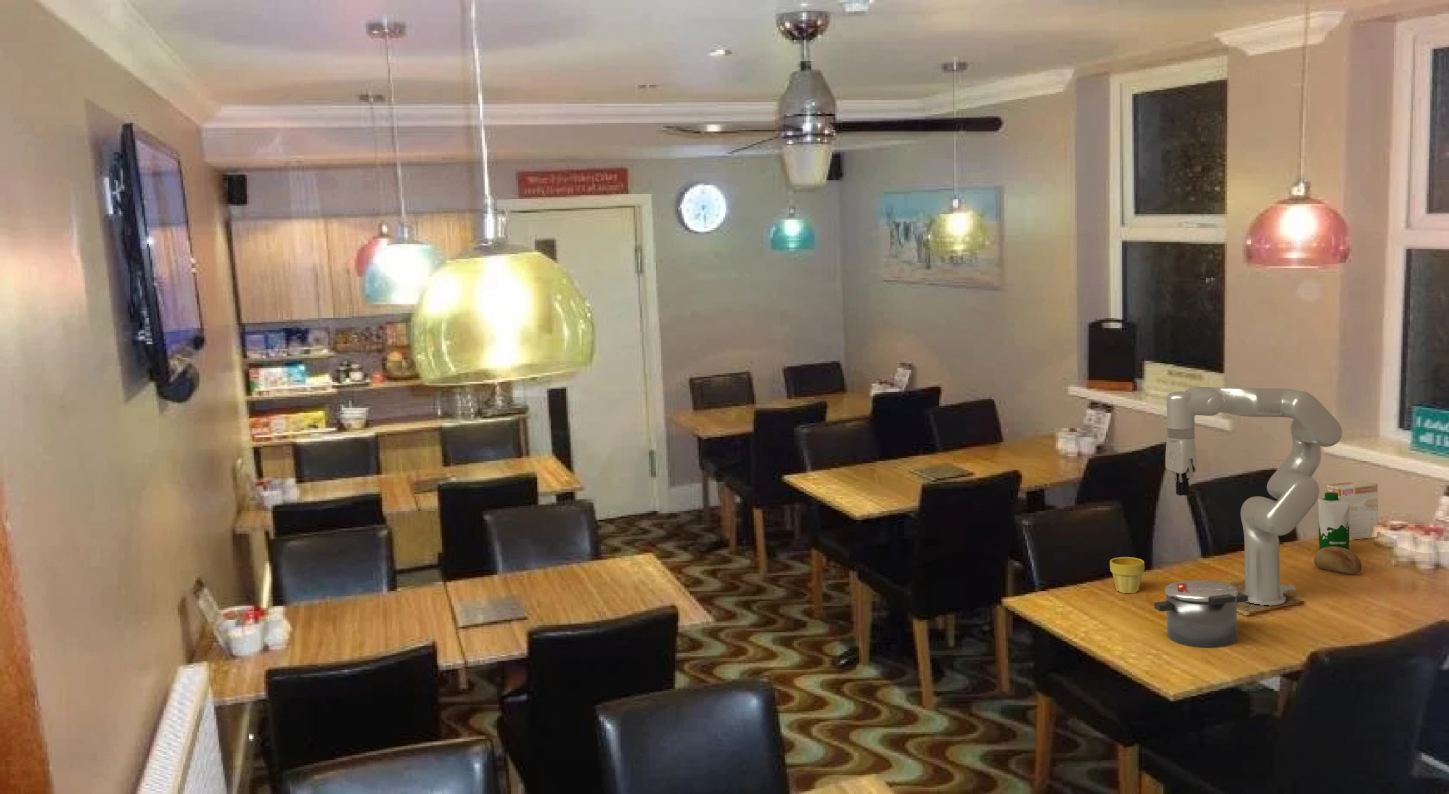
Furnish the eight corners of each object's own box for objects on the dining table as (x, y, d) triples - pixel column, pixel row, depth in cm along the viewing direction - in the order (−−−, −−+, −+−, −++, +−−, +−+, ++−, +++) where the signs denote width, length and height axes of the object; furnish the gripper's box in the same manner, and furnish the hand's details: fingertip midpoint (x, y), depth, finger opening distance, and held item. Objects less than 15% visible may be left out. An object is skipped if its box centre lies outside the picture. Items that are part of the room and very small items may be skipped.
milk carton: (1343, 548, 389) (1342, 491, 386) (1353, 555, 380) (1352, 497, 377) (1315, 549, 390) (1315, 492, 388) (1325, 556, 381) (1324, 498, 379)
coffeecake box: (1365, 533, 405) (1364, 479, 403) (1378, 537, 398) (1378, 483, 396) (1326, 537, 404) (1325, 483, 401) (1339, 542, 397) (1339, 487, 394)
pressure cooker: (1224, 620, 328) (1224, 580, 326) (1264, 641, 309) (1263, 599, 307) (1140, 630, 324) (1138, 589, 323) (1174, 652, 306) (1173, 609, 304)
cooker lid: (1212, 581, 325) (1212, 571, 325) (1257, 599, 304) (1256, 588, 304) (1151, 588, 323) (1151, 577, 323) (1192, 607, 302) (1191, 595, 301)
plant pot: (1140, 585, 365) (1139, 556, 364) (1149, 595, 355) (1148, 564, 354) (1107, 586, 366) (1106, 557, 365) (1115, 596, 356) (1114, 566, 355)
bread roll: (1350, 579, 356) (1350, 554, 355) (1306, 569, 369) (1305, 546, 368) (1368, 573, 361) (1368, 549, 360) (1323, 564, 374) (1323, 540, 373)
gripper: (1156, 431, 340) (1157, 491, 342) (1182, 438, 325) (1183, 501, 327) (1179, 429, 341) (1181, 488, 343) (1207, 436, 326) (1208, 498, 328)
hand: (1182, 494), depth 335 cm, fingers closed
